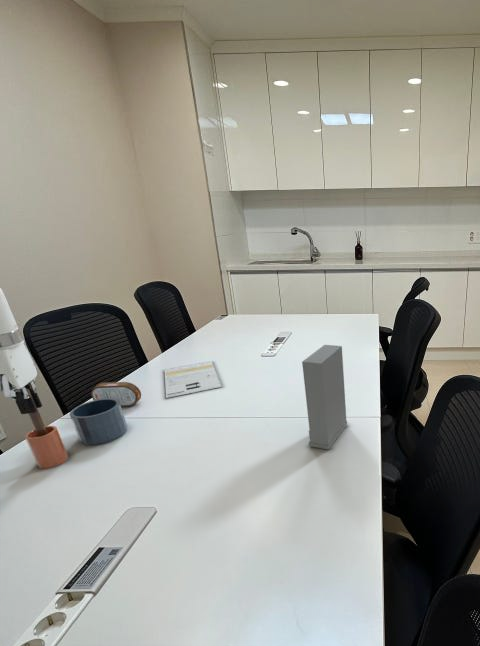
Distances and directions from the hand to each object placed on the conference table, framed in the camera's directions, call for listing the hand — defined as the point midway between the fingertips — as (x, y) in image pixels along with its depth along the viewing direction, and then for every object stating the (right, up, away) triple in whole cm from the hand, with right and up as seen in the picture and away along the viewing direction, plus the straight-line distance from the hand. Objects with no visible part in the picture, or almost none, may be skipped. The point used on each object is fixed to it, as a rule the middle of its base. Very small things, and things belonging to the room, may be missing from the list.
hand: (32, 409), depth 97 cm
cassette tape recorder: (+73, -8, +14) cm, 75 cm away
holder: (0, -14, +6) cm, 15 cm away
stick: (0, -10, +4) cm, 11 cm away
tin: (-1, -1, +36) cm, 36 cm away
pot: (+6, -9, +18) cm, 21 cm away
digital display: (+14, +9, +56) cm, 58 cm away
